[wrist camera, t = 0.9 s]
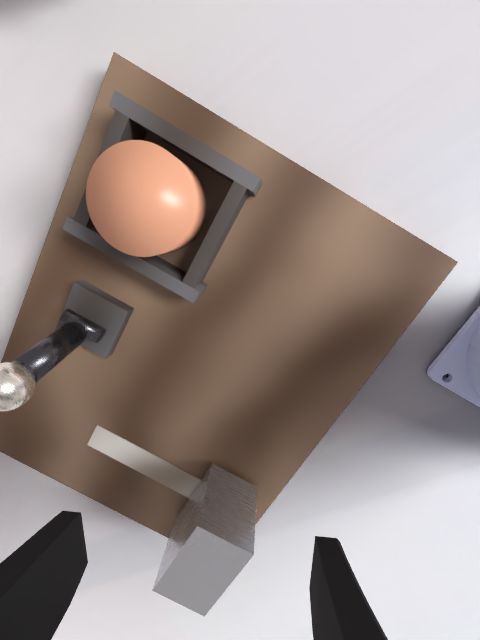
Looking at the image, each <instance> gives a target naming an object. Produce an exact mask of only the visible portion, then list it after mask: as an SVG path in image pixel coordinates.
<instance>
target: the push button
mask: <svg viewBox="0 0 480 640" xmlns="http://www.w3.org/2000/svg"><path fill="white" fill-rule="evenodd" d="M86 203H87V208H88V212H89V215H90V218H91V220H92V222H93V224H94V226H95V228H96V230H97V231H98V232H99V234H100V235H101V236H102V237H103V238H104V239H105V241H106V242H108V243H109V244H110V245H111V246H113V247H114V248H116V249H117V250H119V251H121V252H123V253H126V254H128V255H132V256H137V257H151V256H155V255H160V254H164V253H168V252H172V251H176V250H178V249H181V248H183V247H185V246H186V245H188V244H189V243H190V242H191V241H192V240H194V239H195V237H196V236H197V235H198V233H199V232H200V230H201V228H202V226H203V223H204V220H205V215H206V198H205V193H204V190H203V187H202V185H201V183H200V181H199V179H198V177H197V176H196V174H195V173H194V172H193V171H192V170H191V169H190V168H189V167H188V166H187V165H186V164H184V163H183V162H182V161H180V160H179V159H178V158H176V157H175V156H174V155H172V154H171V153H170V152H168V151H167V150H165V149H164V148H162V147H160V146H158V145H157V144H154V143H151V142H148V141H143V140H127V141H123V142H119V143H117V144H115V145H113V146H111V147H110V148H108V149H107V150H105V151H104V152H103V153H102V154H101V155H100V156H99V157H98V158H97V160H96V161H95V163H94V164H93V166H92V168H91V171H90V173H89V176H88V179H87V185H86Z"/></svg>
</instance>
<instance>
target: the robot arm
mask: <svg viewBox="0 0 480 640" xmlns="http://www.w3.org/2000/svg"><path fill="white" fill-rule="evenodd" d="M427 374H428V376H429V377H430V378H431V379H432V380H433V381H435V382H437V383H438V384H440V385H442V386H444V387H445V388H447V389H449V390H450V391H452V392H454V393H456V394H457V395H459V396H461V397H463V398H464V399H466V400H468V401H469V402H471V403H473V404H475V405H476V406H478V407H480V306H479V307H478V308H477V309H476V311H475V312H474V313H473V314H472V315H471V317H470V318H469V319H468V320H467V321H466V323H465V324H464V325H463V326H462V328H461V329H460V330H459V331H458V332H457V334H456V335H455V336H454V337H453V338H452V340H451V341H450V342H449V343H448V344H447V346H446V347H445V348H444V349H443V350H442V352H441V353H440V354H439V355H438V357H437V358H436V359H435V360H434V361H433V363H432V364H431V365H430V366H429V368H428V370H427ZM445 374H449V376H448V378H446V379H442V377H443V376H444V375H445ZM87 563H88V560H87V553H86V546H85V538H84V531H83V524H82V516H81V513H79V512H69V511H62V512H61V513H59V514H58V515H57V516H56V517H55V518H53V519H52V520H51V521H50V522H49V523H47V524H46V525H45V526H44V527H43V528H42V529H40V530H39V531H38V532H37V533H36V534H34V535H33V536H32V537H31V538H30V539H29V540H27V541H26V542H25V543H24V544H23V545H22V546H20V547H19V548H18V549H17V550H16V551H15V552H13V553H12V554H11V555H10V556H9V557H7V558H6V559H5V560H4V561H3V562H1V563H0V640H51V639H52V637H53V635H54V633H55V631H56V629H57V628H58V626H59V624H60V622H61V620H62V618H63V616H64V615H65V613H66V611H67V609H68V607H69V605H70V603H71V601H72V599H73V596H74V594H75V592H76V590H77V587H78V585H79V583H80V580H81V578H82V576H83V573H84V571H85V568H86V566H87ZM310 601H311V615H312V628H313V638H314V640H388V639H387V637H386V636H385V634H384V632H383V630H382V628H381V626H380V624H379V622H378V621H377V619H376V617H375V615H374V613H373V611H372V609H371V607H370V606H369V604H368V602H367V600H366V598H365V596H364V594H363V592H362V590H361V588H360V586H359V583H358V581H357V579H356V577H355V575H354V573H353V571H352V569H351V567H350V564H349V562H348V560H347V558H346V555H345V553H344V551H343V548H342V546H341V543H340V541H339V540H338V539H337V538H329V537H319V536H315V544H314V553H313V562H312V571H311V579H310Z"/></svg>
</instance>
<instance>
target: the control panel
mask: <svg viewBox="0 0 480 640" xmlns="http://www.w3.org/2000/svg"><path fill="white" fill-rule="evenodd" d="M127 140H143V141H148V142H151V143H154V144H157V145H158V146H160V147H162V148H164V149H165V150H167V151H168V152H170V153H171V154H172V155H174V156H175V157H176V158H178V159H179V160H180V161H182V162H183V163H184V164H186V165H187V166H188V167H189V168H190V169H191V170H192V171H193V172H194V173H195V174H196V176H197V177H198V179H199V181H200V183H201V185H202V187H203V190H204V193H205V198H206V215H205V220H204V223H203V226H202V228H201V230H200V232H199V233H198V235H197V236H196V237H195V239H194V240H192V241H191V242H190V243H189V244H188V245H186V246H185V247H183V248H181V249H178V250H176V251H172V252H168V253H164V254H160V255H155V256H151V257H137V256H132V255H128V254H126V253H123V252H121V251H119V250H117V249H116V248H114V247H113V246H111V245H110V244H109V243H108V242H106V241H105V239H104V238H103V237H102V236H101V235H100V234H99V232H98V231H97V230H96V228H95V226H94V224H93V222H92V220H91V218H90V215H89V212H88V208H87V203H86V185H87V179H88V176H89V173H90V171H91V168H92V166H93V164H94V163H95V161H96V160H97V158H98V157H99V156H100V155H101V154H102V153H103V152H104V151H105V150H107V149H108V148H110V147H111V146H113V145H115V144H117V143H119V142H123V141H127ZM457 263H458V262H457V261H455V260H454V259H452V258H450V257H449V256H447V255H445V254H444V253H442V252H441V251H439V250H437V249H436V248H434V247H432V246H431V245H429V244H427V243H426V242H424V241H423V240H421V239H419V238H418V237H416V236H414V235H413V234H411V233H409V232H408V231H406V230H405V229H403V228H401V227H400V226H398V225H396V224H395V223H393V222H391V221H390V220H388V219H387V218H385V217H383V216H382V215H380V214H378V213H377V212H375V211H373V210H372V209H370V208H369V207H367V206H365V205H364V204H362V203H360V202H359V201H357V200H355V199H354V198H352V197H351V196H349V195H347V194H346V193H344V192H342V191H341V190H339V189H337V188H336V187H334V186H333V185H331V184H329V183H328V182H326V181H324V180H323V179H321V178H319V177H318V176H316V175H315V174H313V173H311V172H310V171H308V170H306V169H305V168H303V167H301V166H300V165H298V164H297V163H295V162H293V161H292V160H290V159H288V158H287V157H285V156H283V155H282V154H280V153H279V152H277V151H275V150H274V149H272V148H270V147H269V146H267V145H265V144H264V143H262V142H261V141H259V140H257V139H256V138H254V137H252V136H251V135H249V134H247V133H246V132H244V131H243V130H241V129H239V128H238V127H236V126H234V125H233V124H231V123H229V122H228V121H226V120H225V119H223V118H221V117H220V116H218V115H216V114H215V113H213V112H211V111H210V110H208V109H207V108H205V107H203V106H202V105H200V104H198V103H197V102H195V101H193V100H192V99H190V98H189V97H187V96H185V95H184V94H182V93H180V92H179V91H177V90H175V89H174V88H172V87H171V86H169V85H167V84H166V83H164V82H162V81H161V80H159V79H157V78H156V77H154V76H153V75H151V74H149V73H148V72H146V71H144V70H143V69H141V68H139V67H138V66H136V65H135V64H133V63H131V62H130V61H128V60H126V59H125V58H123V57H121V56H120V55H118V54H117V53H115V52H114V53H113V56H112V59H111V61H110V64H109V67H108V70H107V72H106V75H105V78H104V81H103V83H102V86H101V89H100V92H99V94H98V97H97V100H96V103H95V105H94V108H93V111H92V114H91V116H90V119H89V122H88V125H87V127H86V130H85V133H84V136H83V139H82V141H81V144H80V147H79V150H78V152H77V155H76V158H75V161H74V163H73V166H72V169H71V172H70V174H69V177H68V180H67V183H66V185H65V188H64V191H63V194H62V196H61V199H60V202H59V205H58V207H57V210H56V213H55V216H54V218H53V221H52V224H51V227H50V229H49V232H48V235H47V238H46V240H45V243H44V246H43V249H42V251H41V254H40V257H39V260H38V262H37V265H36V268H35V271H34V273H33V276H32V279H31V282H30V284H29V287H28V290H27V293H26V295H25V298H24V301H23V304H22V306H21V309H20V312H19V315H18V317H17V320H16V323H15V326H14V328H13V331H12V334H11V337H10V339H9V342H8V345H7V348H6V350H5V353H4V356H3V359H2V361H1V363H4V362H13V361H14V360H15V359H17V358H18V357H20V356H21V355H22V354H24V353H25V352H26V351H28V350H29V349H31V348H32V347H33V346H35V345H36V344H37V343H39V342H40V341H42V340H43V339H44V338H46V337H47V336H48V335H50V334H51V333H53V332H54V331H55V330H57V329H58V328H59V327H61V326H62V325H63V324H61V323H60V322H59V319H60V317H61V315H62V314H63V312H64V311H65V310H67V309H71V310H72V311H74V312H76V313H78V314H80V315H81V316H83V317H85V318H87V319H89V320H90V321H92V322H94V323H96V324H98V325H100V326H101V327H103V328H105V329H106V332H105V335H104V336H103V338H102V339H101V340H100V341H99V342H98V343H96V342H94V341H92V340H90V339H89V338H87V337H86V339H85V341H84V342H83V343H82V344H81V345H80V346H79V347H77V348H76V349H75V350H74V351H73V352H72V353H70V354H69V355H68V356H67V357H66V358H65V359H63V360H62V361H61V362H60V363H59V364H58V365H57V366H55V367H54V368H53V369H52V370H51V371H50V372H48V373H47V374H46V375H45V376H44V377H43V378H41V379H40V380H39V381H38V382H37V383H36V384H35V389H34V392H33V394H32V396H31V398H30V399H29V400H28V401H27V402H26V403H25V404H24V405H22V406H20V407H19V408H16V409H14V410H10V411H0V452H2V453H4V454H6V455H8V456H10V457H12V458H14V459H16V460H18V461H20V462H22V463H23V464H25V465H27V466H29V467H31V468H33V469H35V470H37V471H39V472H41V473H43V474H45V475H47V476H49V477H51V478H53V479H55V480H57V481H59V482H60V483H62V484H64V485H66V486H68V487H70V488H72V489H74V490H76V491H78V492H80V493H82V494H84V495H86V496H88V497H90V498H92V499H94V500H95V501H97V502H99V503H101V504H103V505H105V506H107V507H109V508H111V509H113V510H115V511H117V512H119V513H121V514H123V515H125V516H127V517H129V518H131V519H132V520H134V521H136V522H138V523H140V524H142V525H144V526H146V527H148V528H150V529H152V530H154V531H156V532H158V533H160V534H162V535H164V536H166V537H167V538H169V537H170V534H171V531H172V528H173V525H174V522H175V519H176V517H177V516H178V514H179V513H180V511H181V510H182V508H183V507H184V505H185V504H186V502H187V501H188V499H189V498H190V496H191V495H192V493H193V492H194V490H195V489H196V487H197V486H198V484H199V483H200V481H201V480H202V478H203V477H204V475H205V474H206V472H207V471H208V469H209V468H210V466H211V465H212V463H213V464H215V465H217V466H219V467H221V468H223V469H224V470H226V471H228V472H230V473H232V474H234V475H236V476H238V477H239V478H241V479H243V480H245V481H247V482H249V483H251V484H252V485H254V486H256V487H257V493H256V513H255V524H256V523H257V522H258V520H259V519H260V518H261V517H262V515H263V514H264V513H265V511H266V510H267V509H268V507H269V506H270V505H271V504H272V502H273V501H274V500H275V498H276V497H277V496H278V495H279V493H280V492H281V491H282V489H283V488H284V487H285V485H286V484H287V483H288V482H289V480H290V479H291V478H292V476H293V475H294V474H295V473H296V471H297V470H298V469H299V467H300V466H301V465H302V463H303V462H304V461H305V460H306V458H307V457H308V456H309V454H310V453H311V452H312V450H313V449H314V448H315V447H316V445H317V444H318V443H319V441H320V440H321V439H322V438H323V436H324V435H325V434H326V432H327V431H328V430H329V428H330V427H331V426H332V425H333V423H334V422H335V421H336V419H337V418H338V417H339V416H340V414H341V413H342V412H343V410H344V409H345V408H346V406H347V405H348V404H349V403H350V401H351V400H352V399H353V397H354V396H355V395H356V393H357V392H358V391H359V390H360V388H361V387H362V386H363V384H364V383H365V382H366V381H367V379H368V378H369V377H370V375H371V374H372V373H373V371H374V370H375V369H376V368H377V366H378V365H379V364H380V362H381V361H382V360H383V359H384V357H385V356H386V355H387V353H388V352H389V351H390V349H391V348H392V347H393V346H394V344H395V343H396V342H397V340H398V339H399V338H400V336H401V335H402V334H403V333H404V331H405V330H406V329H407V327H408V326H409V325H410V324H411V322H412V321H413V320H414V318H415V317H416V316H417V314H418V313H419V312H420V311H421V309H422V308H423V307H424V305H425V304H426V303H427V302H428V300H429V299H430V298H431V296H432V295H433V294H434V292H435V291H436V290H437V289H438V287H439V286H440V285H441V283H442V282H443V281H444V280H445V278H446V277H447V276H448V274H449V273H450V272H451V270H452V269H453V268H454V267H455V265H456V264H457Z"/></svg>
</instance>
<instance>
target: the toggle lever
mask: <svg viewBox="0 0 480 640" xmlns="http://www.w3.org/2000/svg"><path fill="white" fill-rule="evenodd" d="M59 322H60V323H61V324H63V325H62V326H61V327H59V328H58V329H57V330H55V331H54V332H53V333H51V334H50V335H48V336H47V337H46V338H44V339H43V340H42V341H40V342H39V343H37V344H36V345H35V346H33V347H32V348H31V349H29V350H28V351H26V352H25V353H24V354H22V355H21V356H20V357H18V358H17V359H15V360H14V361H13V362H4V363H0V411H10V410H14V409H16V408H19V407H20V406H22V405H24V404H25V403H26V402H27V401H28V400H29V399H30V398H31V396H32V394H33V392H34V389H35V384H36V383H37V382H38V381H39V380H40V379H41V378H43V377H44V376H45V375H46V374H47V373H48V372H50V371H51V370H52V369H53V368H54V367H55V366H57V365H58V364H59V363H60V362H61V361H62V360H63V359H65V358H66V357H67V356H68V355H69V354H70V353H72V352H73V351H74V350H75V349H76V348H77V347H79V346H80V345H81V344H82V343H83V342H84V341H85V339H86V337H87V338H89V339H90V340H92V341H94V342H96V343H98V342H99V341H100V340H101V339H102V338H103V336H104V335H105V332H106V329H105V328H103V327H101V326H100V325H98V324H96V323H94V322H92V321H90V320H89V319H87V318H85V317H83V316H81V315H80V314H78V313H76V312H74V311H72V310H71V309H67V310H65V311H64V312H63V314H62V315H61V317H60V319H59Z"/></svg>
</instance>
